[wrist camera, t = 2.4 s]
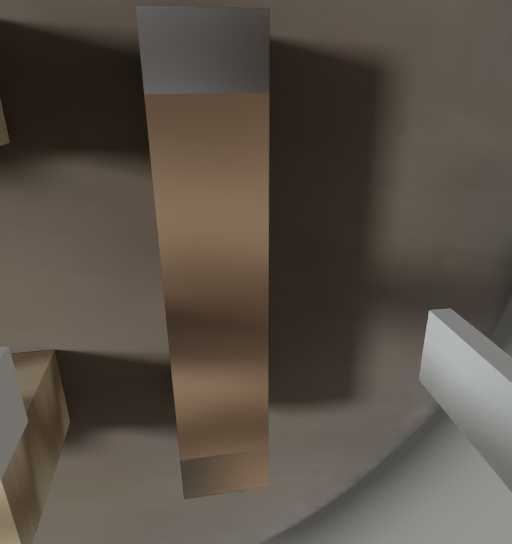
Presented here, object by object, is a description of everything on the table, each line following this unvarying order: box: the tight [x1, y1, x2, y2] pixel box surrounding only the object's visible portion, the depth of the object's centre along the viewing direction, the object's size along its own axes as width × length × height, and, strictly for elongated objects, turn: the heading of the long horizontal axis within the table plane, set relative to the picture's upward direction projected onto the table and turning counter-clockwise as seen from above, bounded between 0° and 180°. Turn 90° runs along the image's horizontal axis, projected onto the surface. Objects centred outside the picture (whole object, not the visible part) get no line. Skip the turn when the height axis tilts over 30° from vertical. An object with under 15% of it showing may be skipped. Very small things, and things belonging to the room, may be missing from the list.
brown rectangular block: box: [136, 6, 270, 499], centre depth 20 cm, size 20×4×7 cm, turn 1°
